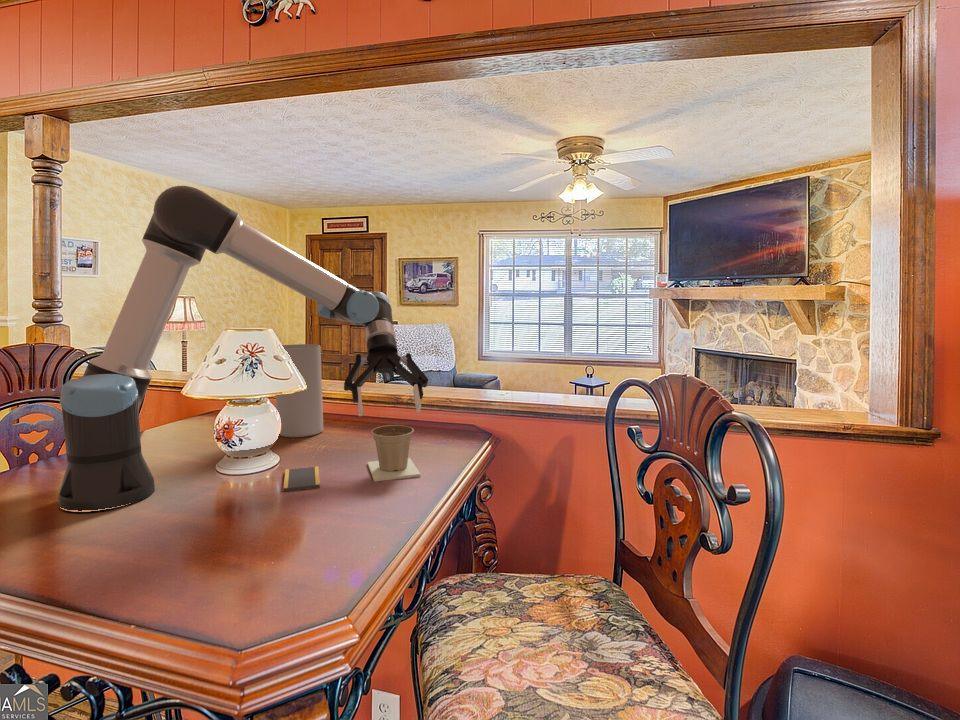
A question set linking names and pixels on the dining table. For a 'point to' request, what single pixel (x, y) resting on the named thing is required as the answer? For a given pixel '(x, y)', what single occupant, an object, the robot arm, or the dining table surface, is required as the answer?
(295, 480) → the trap mat
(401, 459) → the flower pot
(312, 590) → the dining table surface
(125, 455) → the robot arm
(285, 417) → the cylinder vase
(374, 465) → the pad
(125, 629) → the dining table surface
